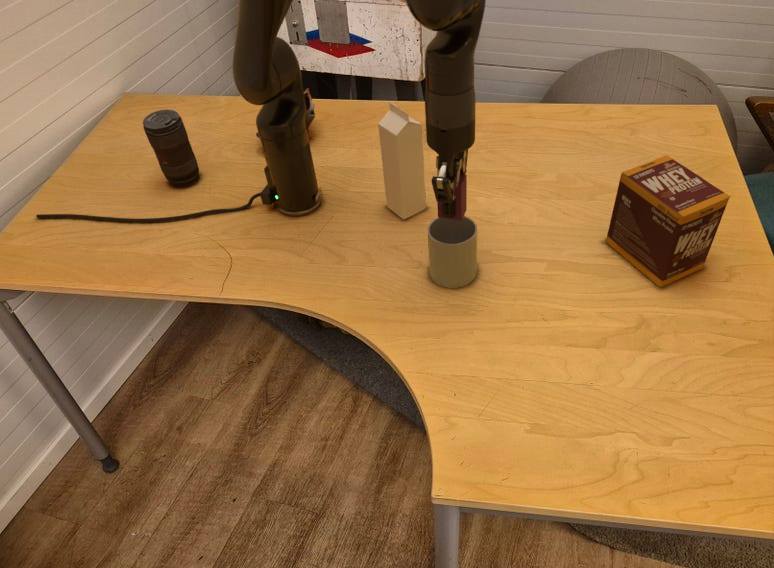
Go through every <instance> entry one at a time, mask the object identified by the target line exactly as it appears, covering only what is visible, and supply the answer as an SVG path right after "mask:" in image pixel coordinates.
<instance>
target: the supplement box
mask: <svg viewBox="0 0 774 568" xmlns="http://www.w3.org/2000/svg"><path fill="white" fill-rule="evenodd" d="M730 198H731V195H729V194H728V193H726V192H725V191H722V190H721V189H720V188H718V187H717V186H715V185H713V184H712V183H710V182H709V181H707V180H706V179H705V178H703V177H702V176H700V175H699V174H697V173H695V172H694V171H692V170H691V169H689V168H687V166H685V165H683V164H682V163H679V162H678V161H677V160H675V159H673V158H672V157H670V156H669V155H664V156H662V157H659V158H656V159H654V160H651V161H649V162H646V163H643V164H641V165H638V166H635V167H632V168H630V169H627V170H624V171H622V172H621V173H620V177H619V181H618V187H617V190H616V195H615V200H614V204H613V208H612V213H611V217H610V222H609V225H608V230H607V235H606V238H605V243H606V244H607V245H608V246H609V247H611V248H612V249H614V251H616V252H617V253H618V254H619V255H620V256H622V258H624V259H625V260H626V261H627V262H629V263H630V264H631V265H632V266H634V267H635V268H636V269H637V270H638V271H640V272H641V273H642V274H643V275H644V276H645V277H646V278H648V279H649V280H650V281H651V282H652V283H653V284H655V285H656V286H657V287H659V288H662V287H664V286H667V285H668V284H671V283H673V282H676V281H678V280H680V279H682V278H684V277H686V276H689V275H691V274H692V273H695V272H697V271H700V270H702V269H703V268H704V267H705V264H706V261H707V258H708V256H709V252H710V251H711V248H712V245H713V242H714V240H715V238H716V234H717V231H718V229H719V226H720V223H721V221H722V218H723V215H724V213H725V210H726V207H727V205H728V203H729V200H730Z"/></svg>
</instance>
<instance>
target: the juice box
mask: <svg viewBox="0 0 774 568" xmlns="http://www.w3.org/2000/svg"><path fill="white" fill-rule="evenodd" d="M467 176H468V175H467V173H466V174H463V175H461V174H460V178H459V184H458V186H457V187H456V215H455V217H454V218H449V217H444V216H443V215H442V202H437V201H436V203H437V218H445V219H452V220H458V221H462V219H463V217H464V216H465V214H466V212H467V200H468V199H467V196H468V194H467V192H468V190H467V188H468V187H467V186H468V184H467V182H468V181H467ZM450 180H454V179H450Z"/></svg>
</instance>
